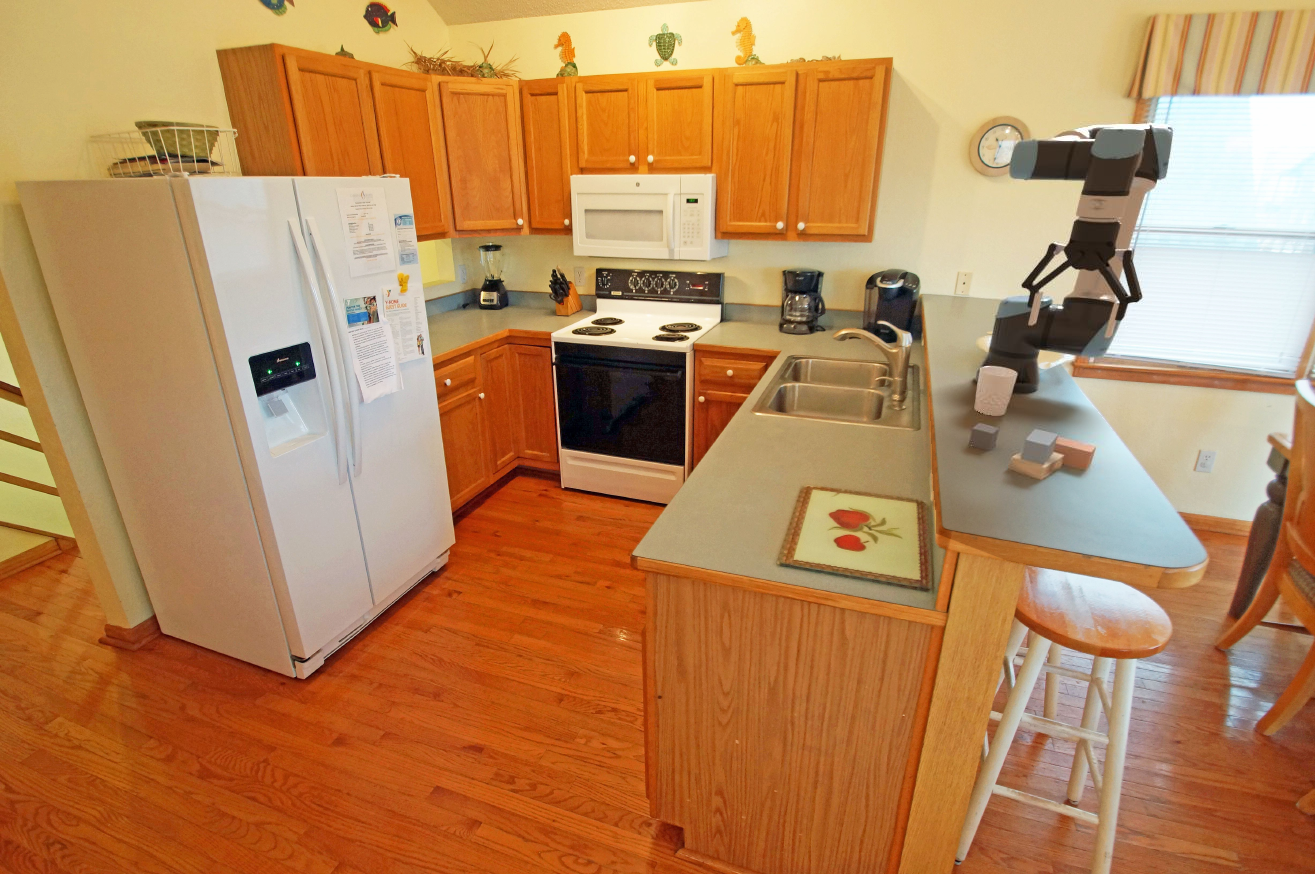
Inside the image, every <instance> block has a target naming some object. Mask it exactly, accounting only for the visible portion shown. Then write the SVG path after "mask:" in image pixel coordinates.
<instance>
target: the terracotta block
mask: <svg viewBox="0 0 1315 874" xmlns="http://www.w3.org/2000/svg"><path fill="white" fill-rule="evenodd" d="M1096 450H1097V446H1096V445H1092V444H1089V443H1086V442H1085V443H1084V442H1081V441H1077V440H1073V439H1068V438H1065V437H1062V436H1058V437H1057V441H1056V444H1055V448H1054V451H1053V452H1056V453H1059V454H1062V455H1064V459H1063V462H1062V465H1065V466H1067V467H1073V468H1076V469H1079V470H1083V471H1086V470H1087V469H1089V467H1090V465H1092V462H1093V459H1094V455H1095V452H1096Z"/></svg>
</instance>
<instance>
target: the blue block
mask: <svg viewBox="0 0 1315 874" xmlns="http://www.w3.org/2000/svg"><path fill="white" fill-rule="evenodd" d="M1057 437H1059V434H1058V433H1054V432H1050V431H1046V430H1042V429H1038V428H1035V429H1034V430H1033V431H1032V432H1031V433H1030V434H1029V435H1028V436H1027V437H1026V439H1025V440H1024V441H1025V442H1024V445H1023V449H1022V451H1023V452H1022V456H1021V459H1024V460H1027V461H1031V462H1035V463H1038V464H1042V465H1044V464H1045V463H1046V462H1047V460H1048V459H1049V458H1050V456H1051V455H1052V454H1053V451H1054V448H1055V444H1056V441H1057Z"/></svg>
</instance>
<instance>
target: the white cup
mask: <svg viewBox="0 0 1315 874" xmlns="http://www.w3.org/2000/svg"><path fill="white" fill-rule="evenodd" d="M1017 374H1018V373H1017V372H1016V371H1014V370H1011V369H1008V368H1004V367H997V366H985V367H981V368H980V372H979V378H978V383H977V385H976V393H975V400H974V401H975V402H974V407H973V409H974V411H976V412H977V411H978V413H979V412H980V413H979V414H982V413H983V414H982V415H986V416H990V415H991V416H993V417H1000V416H1004V415H1005V414H1006V412H1007V408H1008V406H1009V403H1010V400H1011V397H1012V394H1013V393H1012V391H1013V388H1014V384H1015V381H1016V378H1017Z"/></svg>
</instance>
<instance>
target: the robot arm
mask: <svg viewBox="0 0 1315 874" xmlns="http://www.w3.org/2000/svg"><path fill="white" fill-rule="evenodd" d="M1173 136H1174V128H1173V127H1172V126H1171V125H1169V124H1159V123H1151V122H1149V123H1147V124H1146V123H1141V124H1140V123H1138V124H1135V123H1134V124H1094V125H1089V126H1088V125H1087V126H1083V127H1078V128H1074V129H1069V130H1067V131H1066V130H1065V131H1063V132H1060V133H1058V134H1057V135H1055V136H1054V137H1053V138H1048V139H1036V138H1032V139H1022V140H1019V141H1018V142H1016V143H1015V145H1014V148H1013V150H1012V153H1011V156H1010V162H1009V169H1008V170H1009V171H1008V173H1009V176H1010V178H1012V179H1013V180H1024V181H1069V182H1070V181H1073V182H1074V181H1075V182H1076V181H1077V182H1078V181H1079V182H1083V187H1082V190H1081V191H1080V192H1081V193H1080V196H1079V200H1078V205H1077V208H1076V212H1075V216H1076V217H1078V218H1077V219H1075V220H1074V221H1073V223H1072V228H1071V232H1070V237H1069V241H1068V242H1067V244H1062V243H1059V242H1058V241H1055V242H1052V243H1050V244H1049V245H1048V246H1047V247H1048V248H1047V250H1046V253H1045V255H1044V256H1043V257H1042V258H1041V260H1039V262H1038V263H1037V264H1036V266H1035V267H1034V268H1033V269H1032V270H1031V271H1030V273H1029V274H1028V275H1027V277H1026V278H1025V279H1024V281H1023V282H1022V283H1021V288H1022V289H1026V290H1028V291H1029V295H1027V294H1025V295H1015V296H1009V297H1006V298H1004V299H1002V300H1001V301H1000V303H999V304H998V307H997V311H996V314H995V316H994V318H995V319H994V324H993V330H992V333H991V338H990V343H989V347H988V352H987V354H986V355H985V357H984V359H983V360H982V362H981V364H980V365H979V367H978V368H977V370H976V373H975V378H974V380H975V382H976V383H977V384H978V378H979V372H980V368H981V367H985V366H997V367H1004V368H1008V369H1011V370H1014V371H1016V372H1017V373H1018V374H1017V378H1016V381H1015V384H1014V388H1013V391H1012V394H1013V393H1014V394H1015V393H1016V394H1029V393H1034V392H1036V391H1038V389H1039V386H1040V380H1041V379H1040V371H1039V370H1040V369H1039V362H1038V361H1039V355H1040V351H1043V352H1044V351H1045V352H1050V353H1051V352H1052V353H1057V354H1063V355H1070V356H1076V357H1080V358H1083V357H1084V358H1094V359H1099V358H1102V357H1104V356H1105V355H1106V354H1107V352H1108V350H1109V348H1110V346H1111V345H1112V342H1113V341H1114V338H1115V337H1116V334H1117V332H1118V329H1119V328H1120V325H1121V323H1122V321H1123V319H1124V318H1125V316H1126V313H1127V309H1128V305H1129V304H1131V303H1139V302H1140V301H1141V300H1142V299H1143V294H1142V289H1141V286H1140V285H1141V284H1140V281H1139V279H1138V274H1137V271H1136V268H1135V264H1134V255H1135V249H1134V248H1133V247H1130V246H1131V241H1132V239H1133V236H1134V233H1135V229H1136V226H1137V223H1138V219H1139V216H1140V213H1141V208H1142V206H1143V202H1144V199H1145V196H1146V194H1148V193H1149V192H1150V191H1152V190H1154V189H1155V188H1156V186H1157V182H1158V181H1162V180H1164V179H1166V178H1167V174H1168V169H1169V161H1170V157H1171V150H1172V144H1173ZM1061 252H1063V253H1064V255H1065V257H1066V259H1067V260H1065V261H1063V263H1061V264H1060V265H1059V266H1058V267H1056V268H1055V269H1053V270H1052V271H1051V272H1049V274H1047V275H1045V277H1043V278H1042V279H1040V280H1039V281H1038V282H1036V283H1034V282H1035V281H1036V279H1037V278H1038V277H1039V276H1040V275H1041V273H1043V271H1044V270H1045V268H1047V266H1049V264H1050V262H1051V261H1052V260H1053V259H1054V258H1055V256H1057V255H1059V254H1061ZM1070 267H1072V268H1073V269H1074V270H1078V274H1077V277H1076V280H1075V284H1074V287H1073V291H1072V292H1070V293H1069V294H1067V295H1066V296H1064V297H1063V301H1062V304H1057V303H1053V302H1054V300H1053V298H1052V297H1051V296H1047V295H1044V291H1042V290H1041V289H1042V288H1043V287H1045V286H1047V285H1048V284H1049V283H1050V282H1052V281H1053V280H1054V279H1055V278H1057V277H1058V276H1059V275H1061V274H1062V273H1063V272H1064V271H1066V270H1068V269H1069V268H1070ZM1123 272H1124V273H1123ZM1122 273H1123V274H1124V276H1125V280H1126V283H1127V287H1128V291H1129V294H1130V295H1129V294H1128V292H1127V291H1126V289H1125V288H1124V285H1123V284H1122V283H1121V281H1120V279H1121V275H1122Z"/></svg>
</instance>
